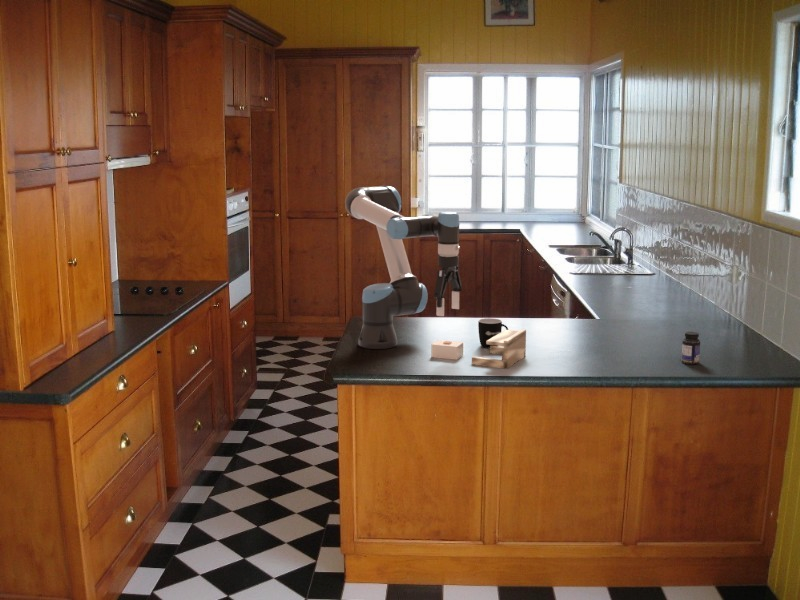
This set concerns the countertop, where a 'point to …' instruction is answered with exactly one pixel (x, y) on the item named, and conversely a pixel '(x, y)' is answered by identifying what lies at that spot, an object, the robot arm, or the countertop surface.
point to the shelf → (505, 349)
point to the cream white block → (447, 349)
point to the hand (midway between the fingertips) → (448, 312)
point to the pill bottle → (691, 348)
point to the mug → (489, 330)
